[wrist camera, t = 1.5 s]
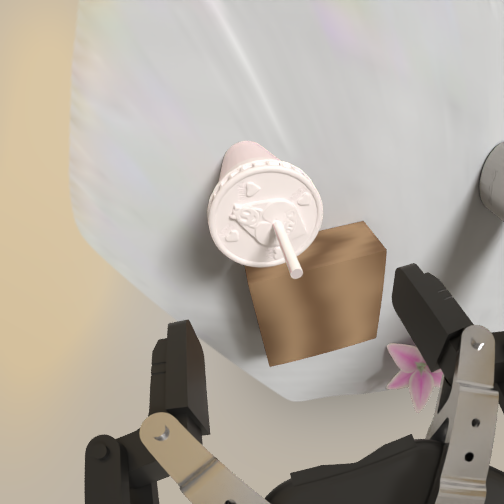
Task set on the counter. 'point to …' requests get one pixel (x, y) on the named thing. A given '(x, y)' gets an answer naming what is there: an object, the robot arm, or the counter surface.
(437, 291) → the robot arm
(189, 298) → the counter surface
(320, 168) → the counter surface
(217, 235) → the smoothie
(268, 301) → the walnut block
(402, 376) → the lily
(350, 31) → the counter surface
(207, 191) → the counter surface
